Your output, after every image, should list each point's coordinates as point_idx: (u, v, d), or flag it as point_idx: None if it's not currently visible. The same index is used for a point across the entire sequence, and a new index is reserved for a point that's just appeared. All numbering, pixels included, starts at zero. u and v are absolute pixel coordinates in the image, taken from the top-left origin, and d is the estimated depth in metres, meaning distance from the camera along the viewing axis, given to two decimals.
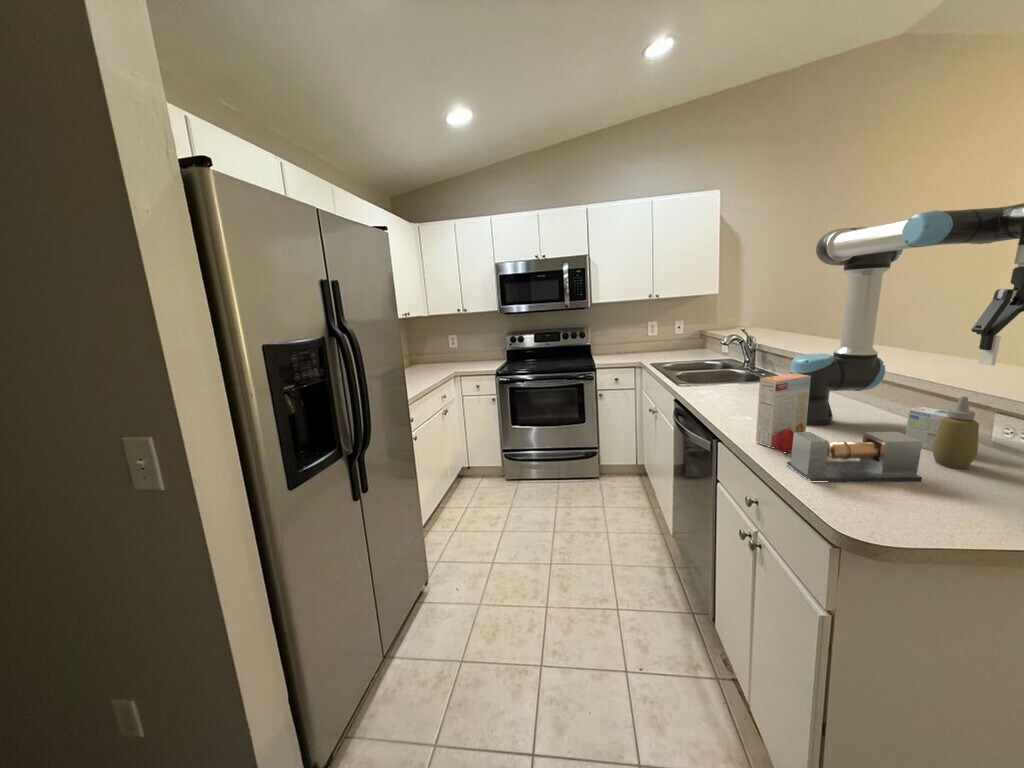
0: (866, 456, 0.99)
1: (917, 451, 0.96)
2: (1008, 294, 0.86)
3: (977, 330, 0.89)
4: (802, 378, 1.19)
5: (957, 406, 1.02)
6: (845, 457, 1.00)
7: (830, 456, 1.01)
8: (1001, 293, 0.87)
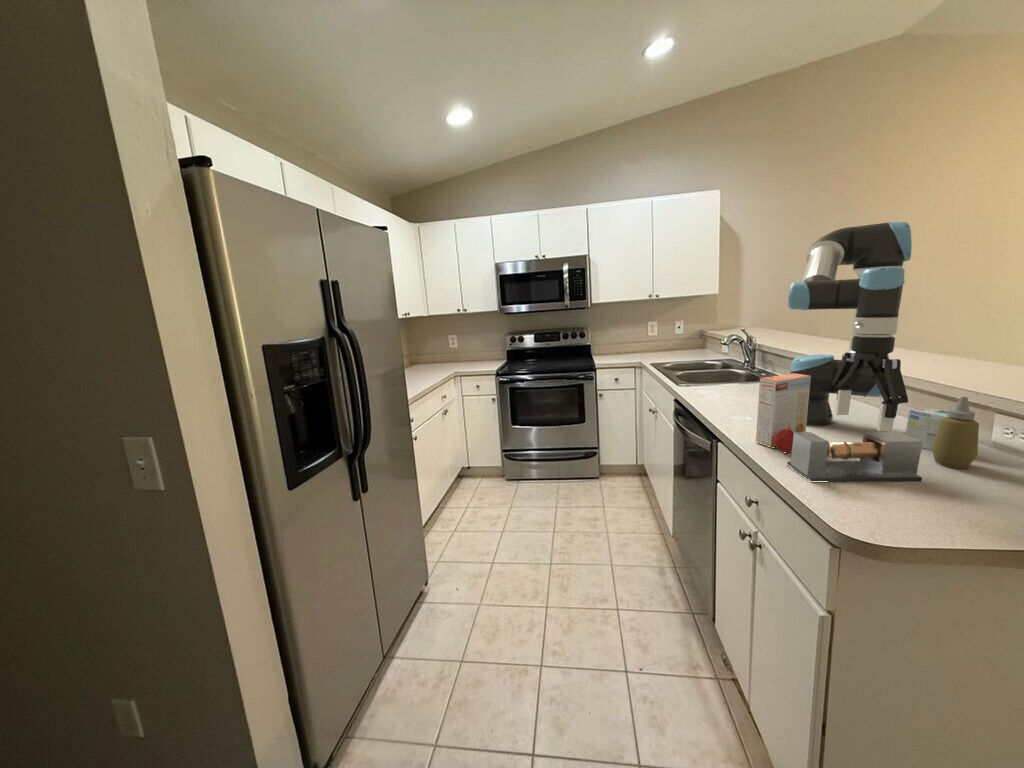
0: (866, 456, 0.99)
1: (917, 451, 0.96)
2: (845, 356, 1.03)
3: None
4: (802, 378, 1.19)
5: (957, 406, 1.02)
6: (845, 457, 1.00)
7: (830, 456, 1.01)
8: None
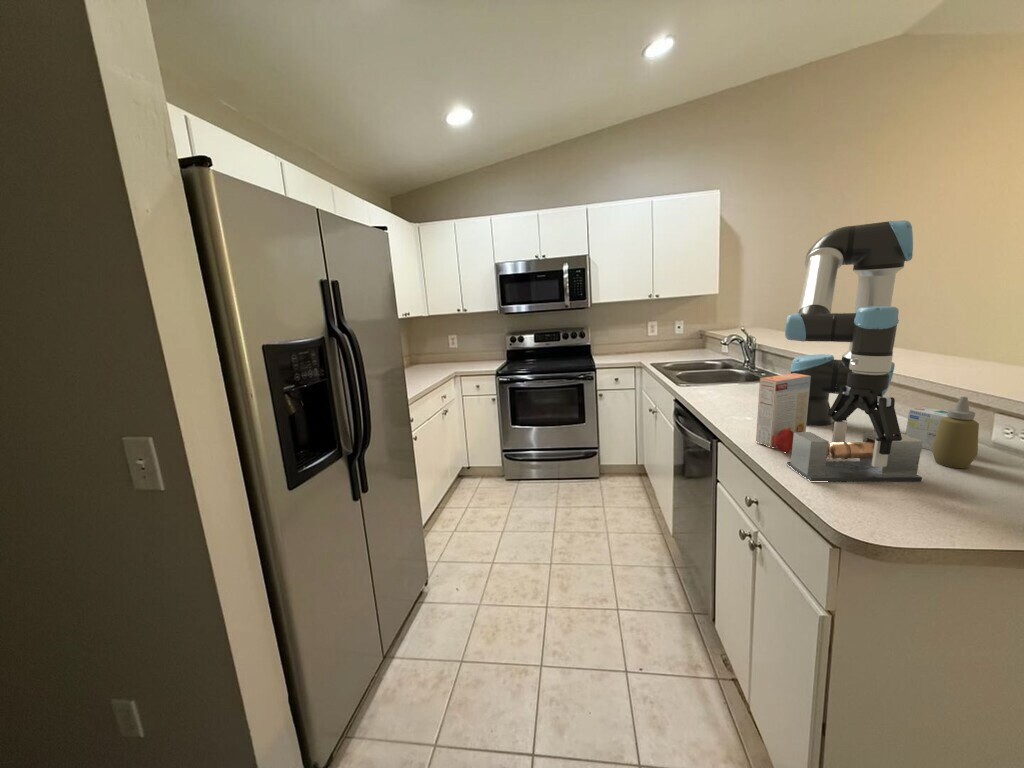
0: (866, 456, 0.99)
1: (917, 451, 0.96)
2: (840, 389, 1.04)
3: None
4: (802, 378, 1.19)
5: (957, 406, 1.02)
6: (845, 457, 1.00)
7: (830, 456, 1.01)
8: None
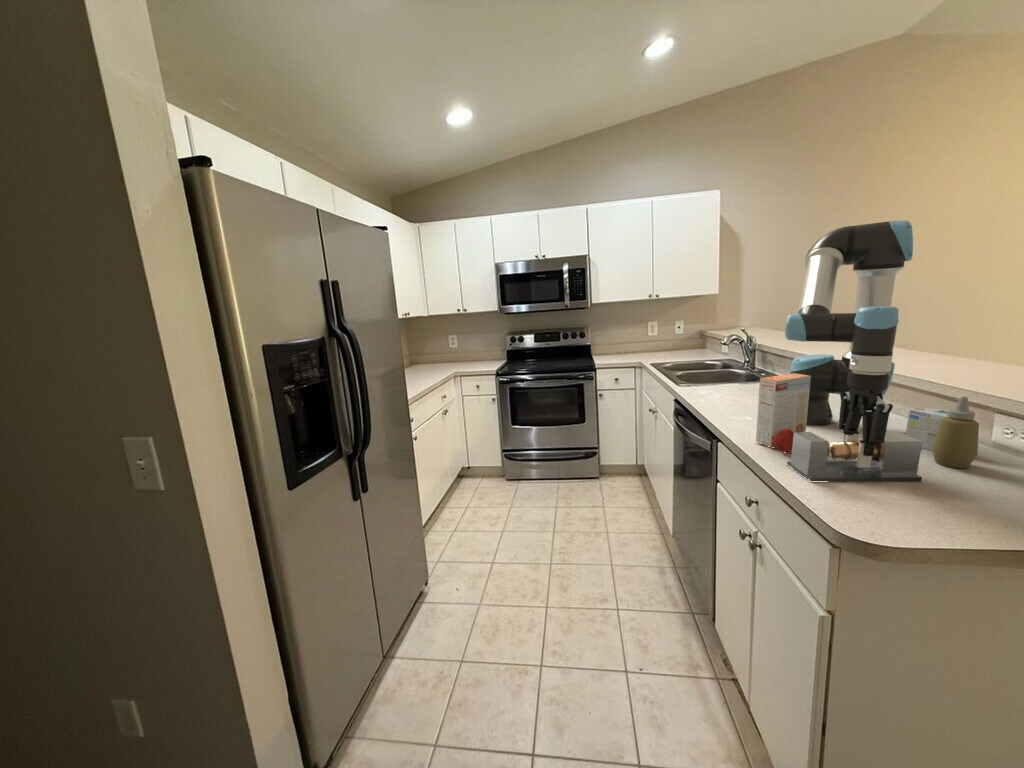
0: None
1: (917, 451, 0.96)
2: (841, 396, 1.04)
3: None
4: (802, 378, 1.19)
5: (957, 406, 1.02)
6: (845, 457, 1.00)
7: (830, 456, 1.01)
8: None
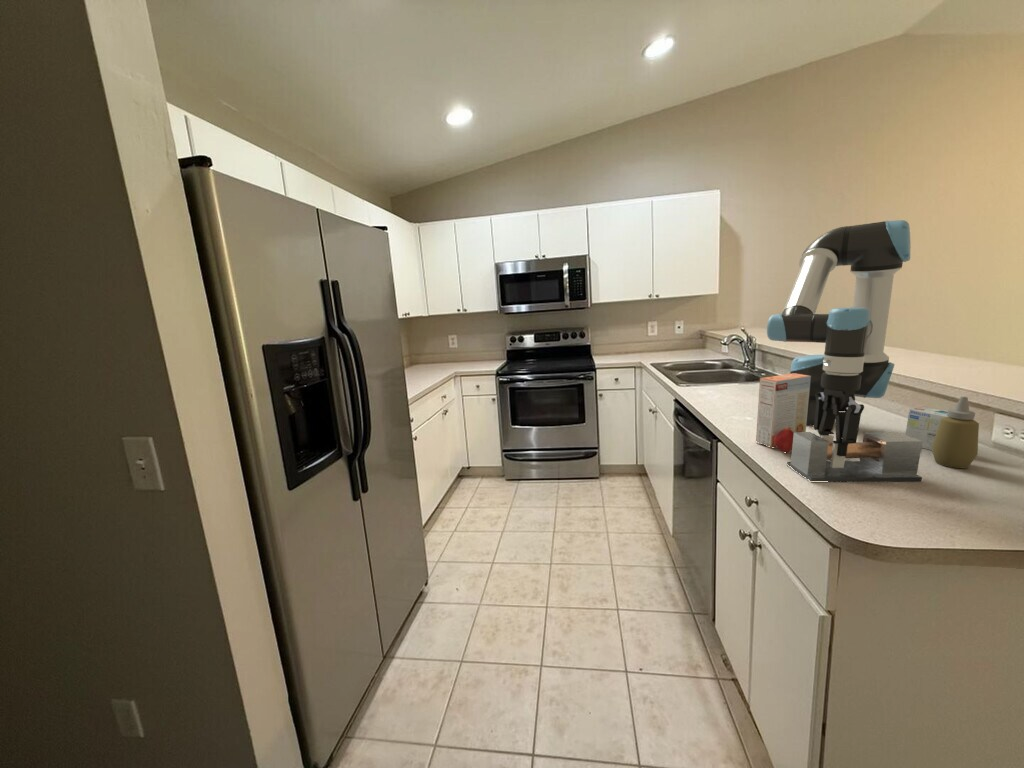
0: None
1: (917, 451, 0.96)
2: (816, 396, 1.05)
3: None
4: (802, 378, 1.19)
5: (957, 406, 1.02)
6: None
7: None
8: None
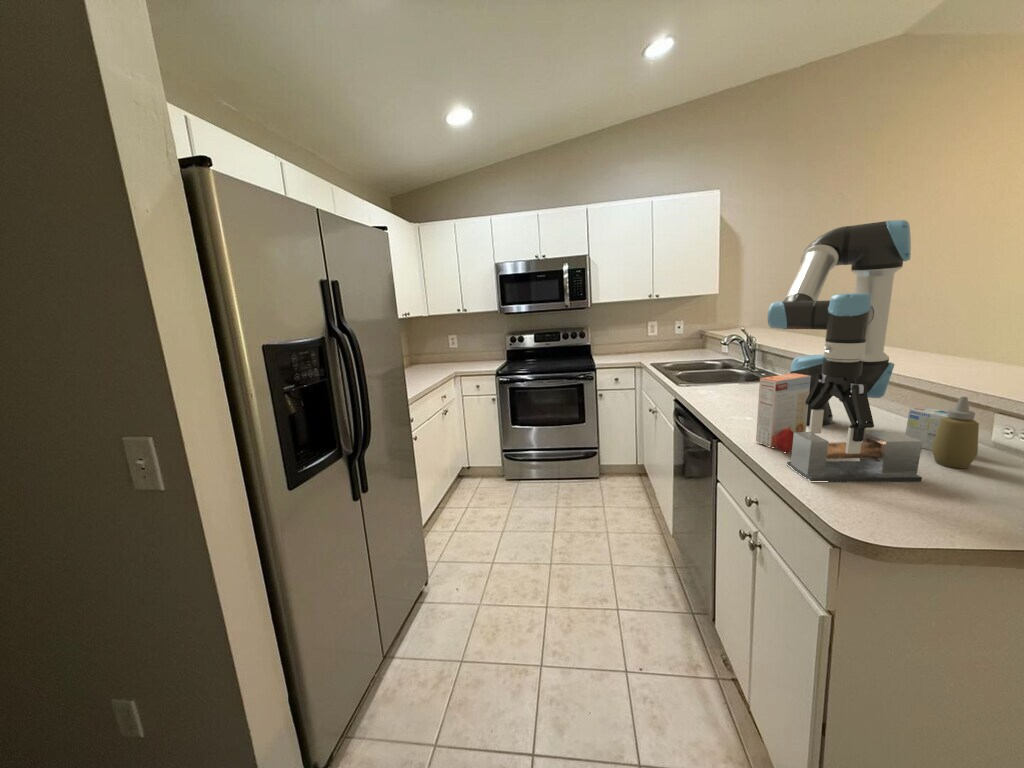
0: (840, 456, 1.00)
1: (917, 451, 0.96)
2: (817, 377, 1.04)
3: None
4: (802, 378, 1.19)
5: (957, 406, 1.02)
6: None
7: None
8: None
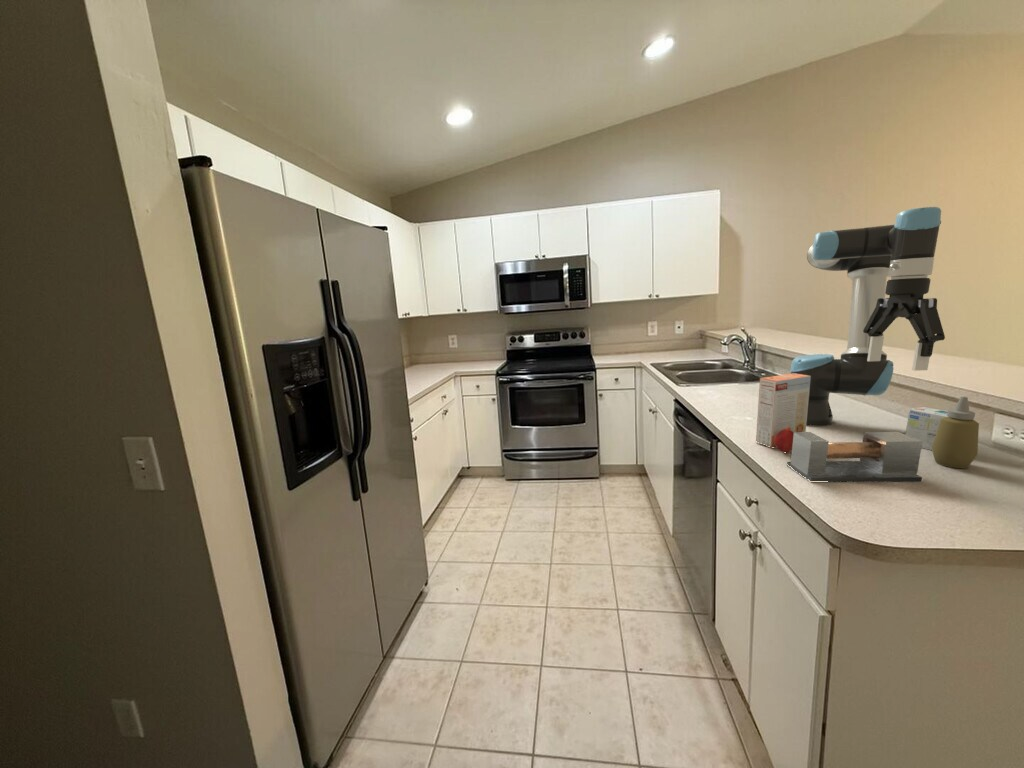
0: (840, 456, 1.00)
1: (917, 451, 0.96)
2: (877, 302, 1.04)
3: None
4: (802, 378, 1.19)
5: (957, 406, 1.02)
6: None
7: None
8: None
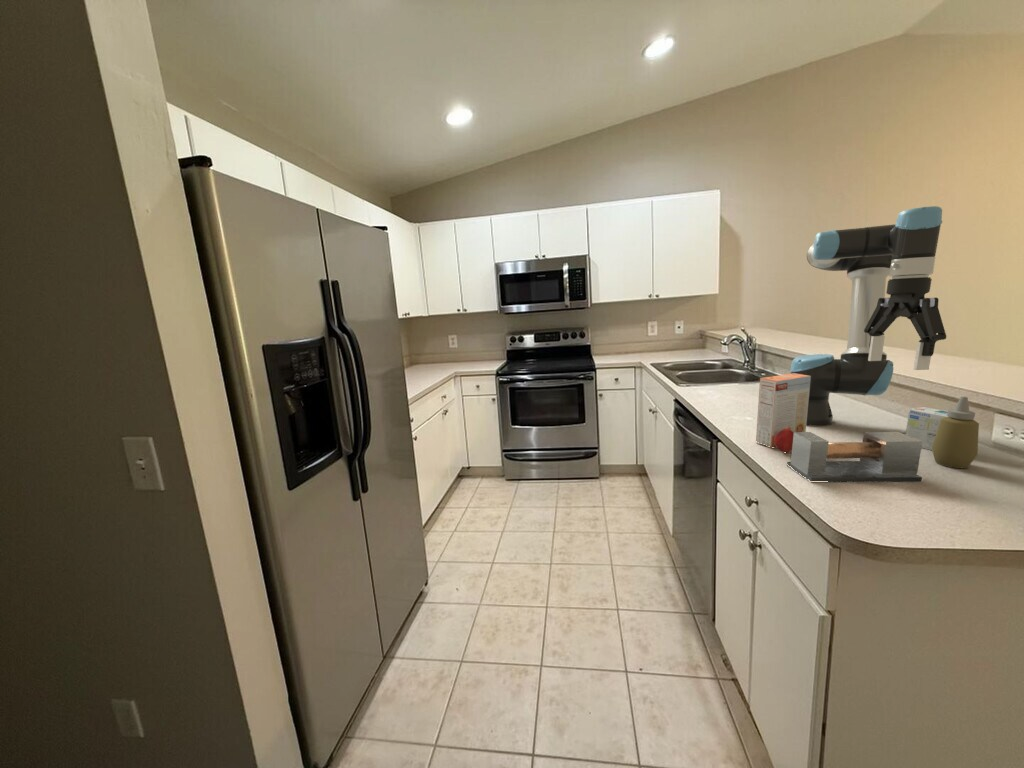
0: (840, 456, 1.00)
1: (917, 451, 0.96)
2: (878, 302, 1.04)
3: None
4: (802, 378, 1.19)
5: (957, 406, 1.02)
6: None
7: None
8: None
